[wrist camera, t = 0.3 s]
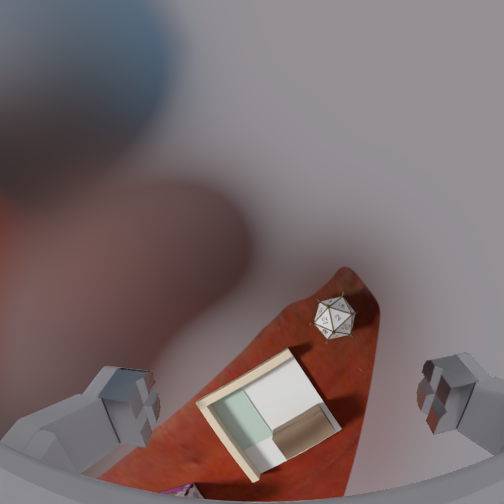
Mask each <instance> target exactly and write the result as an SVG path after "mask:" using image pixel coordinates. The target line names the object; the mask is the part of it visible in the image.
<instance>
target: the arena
mask: <svg viewBox="0 0 504 504" xmlns="http://www.w3.org/2000/svg"><path fill="white" fill-rule="evenodd" d="M196 404H197V406H198V407H199V409H200V410H201V412H202V414H203V415H204V416H205V418H206V419H207V421H208V422H209V424H210V425H211V427H212V428H213V430H214V431H215V433H216V434H217V435H218V437H219V438H220V440H221V441H222V443H223V444H224V445H225V447H226V448H227V449H228V451H229V452H230V454H231V455H232V456H233V458H234V459H235V460H236V462H237V463H238V464H239V466H240V467H241V468H242V470H243V471H244V472H245V473H246V475H247V476H248V477H249V479H250V480H251V481H252V482H253V483H254V482H256V481H258V480H260V474H261V473H263V472H265V471H267V470H269V469H271V468H273V467H275V466H277V465H279V464H281V463H283V462H285V461H287V459H286V458H285V457H284V455H283V454H282V453H281V451H280V450H279V449H278V447H277V446H276V444H275V443H274V442H273V440H272V437H273V429H275V428H277V427H279V426H280V425H282V424H284V423H286V422H288V421H289V420H291V419H293V418H295V417H296V416H298V415H300V414H301V413H303V412H305V411H306V410H308V409H310V408H311V407H313V406H315V405H316V404H319V405H320V407H321V408H322V410H323V411H324V413H325V414H326V416H327V417H328V419H329V420H330V422H331V423H332V425H333V427H334V429H335V431H336V432H338V431H339V430H341V427H340V426H339V424H338V423H337V421H336V420H335V418H334V417H333V415H332V414H331V412H330V411H329V409H328V408H327V406H326V405H325V403H324V402H323V400H322V399H321V397H320V396H319V394H318V393H317V391H316V390H315V388H314V387H313V385H312V384H311V382H310V381H309V379H308V378H307V376H306V375H305V373H304V372H303V370H302V369H301V367H300V365H299V364H298V362H297V361H296V359H295V358H294V356H293V355H292V353H291V352H290V350H289V349H288V348H286V349H285V350H283V351H282V352H280V353H278V354H277V355H275V356H274V357H272V358H270V359H269V360H267V361H265V362H264V363H262V364H260V365H259V366H257V367H255V368H254V369H252V370H250V371H249V372H247V373H245V374H244V375H242V376H240V377H238V378H237V379H235V380H233V381H231V382H230V383H228V384H226V385H224V386H223V387H221V388H219V389H217V390H215V391H214V392H212V393H210V394H208V395H206V396H204V397H203V398H201V399H200V400H198V401H197V402H196ZM336 432H335V433H336ZM332 435H333V434H332ZM330 436H331V435H330ZM330 436H329V437H330ZM327 438H328V437H327ZM325 439H326V438H325ZM325 439H324V440H325ZM322 441H323V440H322ZM320 442H321V441H320ZM317 444H318V443H317ZM315 445H316V444H315ZM312 447H313V446H312ZM310 448H311V447H310ZM308 449H309V448H308ZM306 450H307V449H306ZM303 452H304V451H303ZM301 453H302V452H301ZM299 454H300V453H299ZM297 455H298V454H297ZM294 457H295V456H294ZM292 458H293V457H292ZM290 459H291V458H290ZM288 460H289V459H288Z"/></svg>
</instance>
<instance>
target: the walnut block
mask: <svg viewBox="0 0 504 504" xmlns="http://www.w3.org/2000/svg"><path fill="white" fill-rule="evenodd" d="M335 432H336V431H335V429H334V427H333V425H332V423H331V422H330V420H329V419H328V417H327V416H326V414H325V413H324V411H323V410H322V408H321V407H320V405H319V404H316V405H315V406H313V407H311V408H310V409H308V410H306V411H305V412H303V413H301V414H300V415H298V416H296V417H295V418H293V419H291V420H289V421H288V422H286V423H284V424H282V425H280V426H279V427H277V428H275V429H273V437H272V440H273V442H274V443H275V444H276V446H277V447H278V449H279V450H280V451H281V453H282V454H283V455H284V457H285V458H286V459H287V460H288V459H290V458H292V457H294V456H296V455H297V454H299V453H301V452H303V451H305V450H306V449H308V448H310V447H312V446H314V445H315V444H317V443H319V442H320V441H322V440H324V439H325V438H327V437H329V436H330V435H332V434H334V433H335Z"/></svg>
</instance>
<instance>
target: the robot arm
mask: <svg viewBox="0 0 504 504" xmlns="http://www.w3.org/2000/svg"><path fill="white" fill-rule="evenodd" d="M422 373H423V374H424V378H423V379H422V381H421V382H420V383H419V385H418V389H417V403H418V406H419V408H420V410H421V411H422V412H423V413H425V414H427V415H428V417H427V420H426V421H427V423H428V425H429V427H430V429H431V431H432V433H433V435H434V434H439V433H443V432H447V431H451V430H455V429H457V431H458V432H460V433H461V434H463V435H464V436H466V437H467V438H469V439H470V440H472V441H473V442H475V443H476V444H478V445H479V446H481V447H482V448H484V449H485V450H487V451H488V452H490V453H491V454H493V455H494V456H493V457H491V458H488V459H486V460H483V461H481V462H478V463H476V464H473V465H470V466H468V467H465V468H462V469H459V470H456V471H453V472H450V473H447V474H444V475H441V476H438V477H434V478H431V479H428V480H424V481H421V482H416V483H413V484H409V485H405V486H400V487H396V488H392V489H386V490H381V491H377V492H371V493H365V494H359V495H352V496H345V497H337V498H329V499H318V500H306V501H287V502H239V501H221V500H208V499H198V498H189V497H181V496H174V495H167V494H161V493H155V492H150V491H145V490H140V489H135V488H130V487H126V486H121V485H117V484H113V483H109V482H105V481H102V480H98V479H94V478H91V477H87V476H84V475H81V473H82V472H83V471H85V470H86V469H88V468H89V467H90V466H92V465H93V464H95V463H96V462H97V461H99V460H100V459H101V458H103V457H104V456H106V455H107V454H108V453H110V452H111V451H112V450H114V449H115V448H116V447H118V446H119V445H120V443H121V444H127V445H133V446H140V447H146V446H147V444H148V441H149V439H150V437H151V434H152V430H151V427H150V426H151V425H153V424H155V423H156V422H157V420H158V417H159V412H160V400H159V396H158V393H157V392H156V391H155V390H154V389H153V386H154V384H155V380H154V377H153V373H151V372H150V371H145V370H137V369H129V368H119V367H112V366H105V367H103V368H102V369H101V371H100V372H99V373H98V375H97V376H96V377H95V379H94V380H93V381H92V382H91V384H90V385H89V386H88V388H87V389H86V390H85V392H84V393H83V394H82V395H80V394H77V395H75V396H72V397H70V398H68V399H65V400H63V401H61V402H59V403H56V404H54V405H52V406H49V407H47V408H45V409H42V410H40V411H38V412H35V413H33V414H31V415H28V416H26V417H23V418H21V419H19V420H18V421H17V422H16V423H15V424H14V425H13V427H12V428H11V429H10V430H9V431H8V432H7V434H6V435H5V436H4V437H3V438H2V440H1V441H0V504H504V380H503V379H500V378H497V377H494V378H492V377H491V376H490V375H489V374H488V373H487V372H486V371H485V369H484V368H483V367H482V366H481V365H480V364H479V363H478V362H477V361H476V360H475V358H474V357H472V355H471V354H470V353H467V352H464V353H459V354H455V355H453V356H448V357H443V358H438V359H432V360H427V361H426V362H425V364H424V366H423V370H422Z"/></svg>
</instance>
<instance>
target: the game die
mask: <svg viewBox="0 0 504 504" xmlns="http://www.w3.org/2000/svg"><path fill="white" fill-rule="evenodd" d="M344 295H345V293H344V292H343V293H342V296H341V297H337V298H333V299H329V300H325V301H320V300H319V299H317V301H318V302H319V305H318V309H317V313H316V316H315V320H314V322H311V323H310V325H313V324H314V325H315V326H316V327H317V328H318V329H319V330H320V332H321V333H322V334H323V335H324V336H325V337H326V341H325V342H326V343H328V340H329V339H333V338H338V337H342V336H347V335H350V336H351V337H352V338H354V336H353V334H351V332H352V328H353V323H354V319H355V314H358V313H359V312H358V311H356V312H355V311H354V310H353V309H352V307H351V306H350V305H349V303H348V302H347V301H346V300H345V298H344V297H343V296H344Z"/></svg>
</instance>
